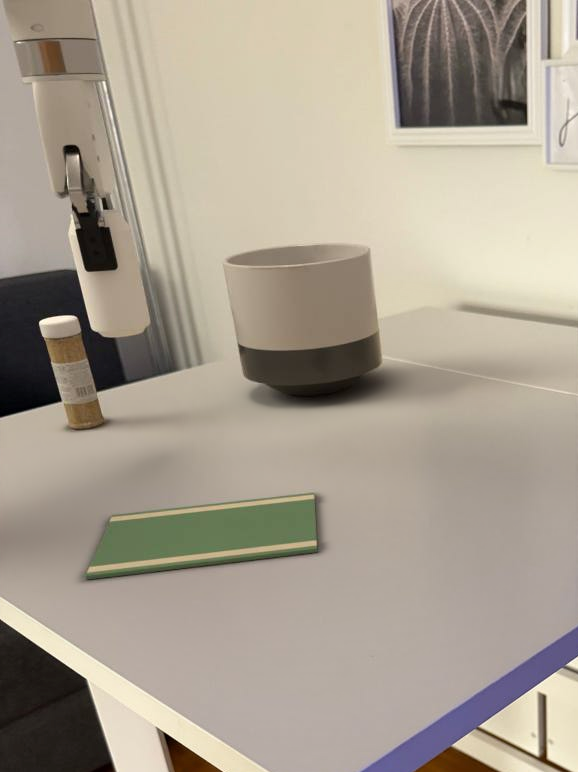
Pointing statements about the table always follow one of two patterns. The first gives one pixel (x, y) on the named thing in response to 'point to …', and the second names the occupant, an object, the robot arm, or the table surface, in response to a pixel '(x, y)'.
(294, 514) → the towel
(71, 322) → the sprinkles bottle
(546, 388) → the table surface
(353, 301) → the planter
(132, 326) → the beverage can
